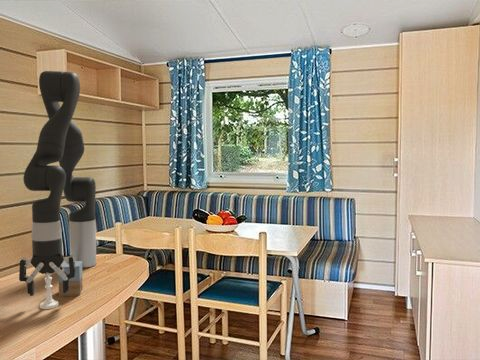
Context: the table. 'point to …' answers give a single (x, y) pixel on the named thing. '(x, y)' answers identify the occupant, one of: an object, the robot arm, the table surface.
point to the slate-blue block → (66, 267)
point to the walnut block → (71, 288)
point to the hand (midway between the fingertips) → (48, 293)
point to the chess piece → (48, 295)
